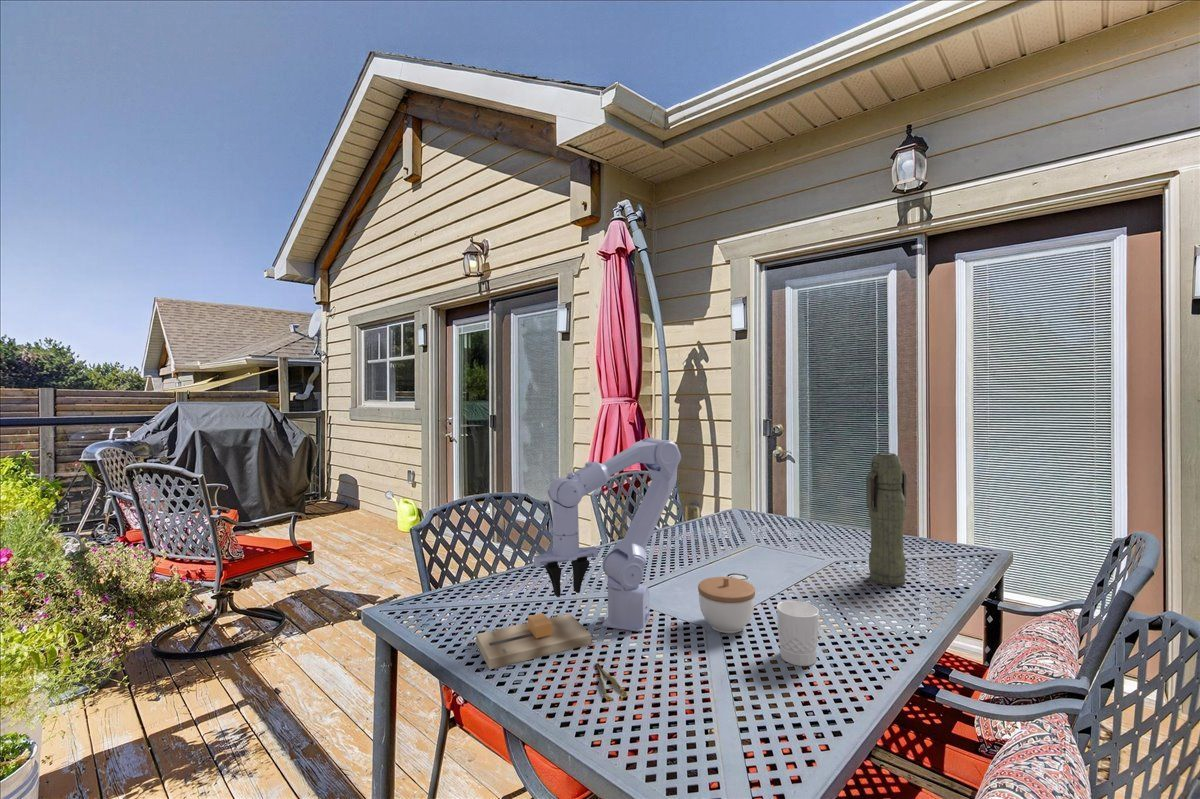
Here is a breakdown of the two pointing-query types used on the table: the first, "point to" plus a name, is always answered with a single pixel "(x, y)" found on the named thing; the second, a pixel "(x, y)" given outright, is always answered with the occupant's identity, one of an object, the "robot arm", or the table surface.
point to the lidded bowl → (726, 603)
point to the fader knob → (539, 625)
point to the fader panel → (530, 641)
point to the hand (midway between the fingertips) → (567, 593)
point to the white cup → (798, 632)
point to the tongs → (600, 670)
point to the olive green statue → (886, 519)
